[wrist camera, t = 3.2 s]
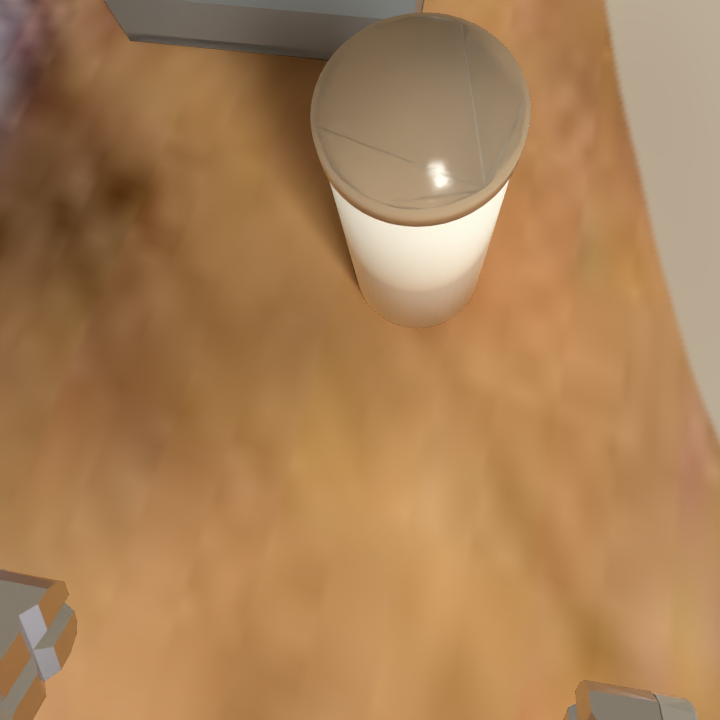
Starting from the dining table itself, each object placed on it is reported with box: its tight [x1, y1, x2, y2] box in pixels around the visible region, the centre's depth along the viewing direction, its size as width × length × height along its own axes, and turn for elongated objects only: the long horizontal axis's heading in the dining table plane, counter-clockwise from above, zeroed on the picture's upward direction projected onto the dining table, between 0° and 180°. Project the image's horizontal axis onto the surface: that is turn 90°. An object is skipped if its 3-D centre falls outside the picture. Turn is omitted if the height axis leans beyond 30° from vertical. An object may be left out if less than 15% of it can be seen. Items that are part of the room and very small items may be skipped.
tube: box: [310, 12, 531, 328], centre depth 22 cm, size 5×5×12 cm
